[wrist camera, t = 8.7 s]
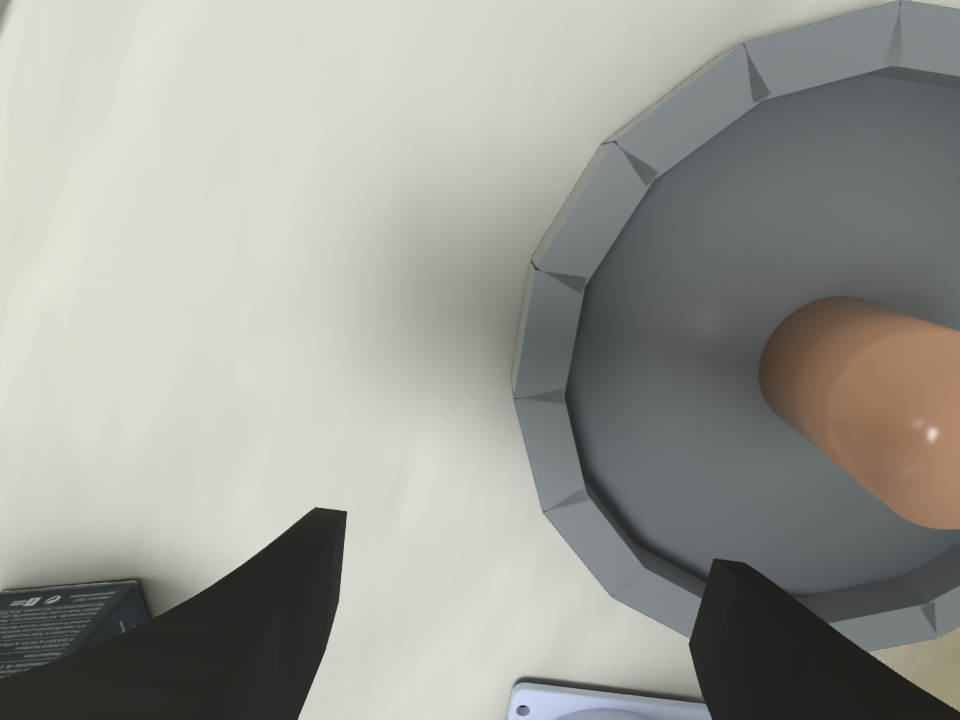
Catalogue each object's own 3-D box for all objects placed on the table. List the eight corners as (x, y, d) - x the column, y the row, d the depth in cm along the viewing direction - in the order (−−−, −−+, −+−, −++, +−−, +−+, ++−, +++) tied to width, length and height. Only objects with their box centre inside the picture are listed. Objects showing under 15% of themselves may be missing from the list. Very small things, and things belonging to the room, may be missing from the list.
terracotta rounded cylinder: (875, 439, 21) (1026, 540, 15) (742, 421, 21) (844, 516, 15) (921, 306, 19) (1105, 362, 14) (781, 286, 19) (908, 334, 14)
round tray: (997, 647, 24) (1042, 688, 22) (476, 582, 23) (476, 619, 21) (1255, 83, 18) (1346, 72, 16) (577, -27, 17) (589, -52, 16)
